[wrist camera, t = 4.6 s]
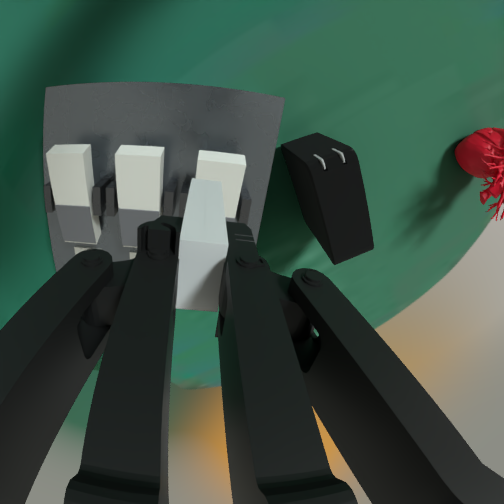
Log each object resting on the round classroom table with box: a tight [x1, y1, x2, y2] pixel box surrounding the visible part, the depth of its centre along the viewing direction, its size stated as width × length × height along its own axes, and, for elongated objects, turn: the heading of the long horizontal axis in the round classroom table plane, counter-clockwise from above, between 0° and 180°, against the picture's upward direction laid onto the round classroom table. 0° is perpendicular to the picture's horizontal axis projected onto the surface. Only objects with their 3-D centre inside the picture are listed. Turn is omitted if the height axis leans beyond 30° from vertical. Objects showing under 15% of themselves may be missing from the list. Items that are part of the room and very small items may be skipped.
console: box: [43, 82, 285, 272], centre depth 25 cm, size 19×21×9 cm
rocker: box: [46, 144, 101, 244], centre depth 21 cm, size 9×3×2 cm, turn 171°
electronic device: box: [281, 133, 374, 265], centre depth 28 cm, size 4×10×10 cm, turn 20°
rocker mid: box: [115, 145, 165, 248], centre depth 22 cm, size 9×3×2 cm, turn 171°
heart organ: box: [455, 128, 504, 221], centre depth 27 cm, size 10×12×12 cm
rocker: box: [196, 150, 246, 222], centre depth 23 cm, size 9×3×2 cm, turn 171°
